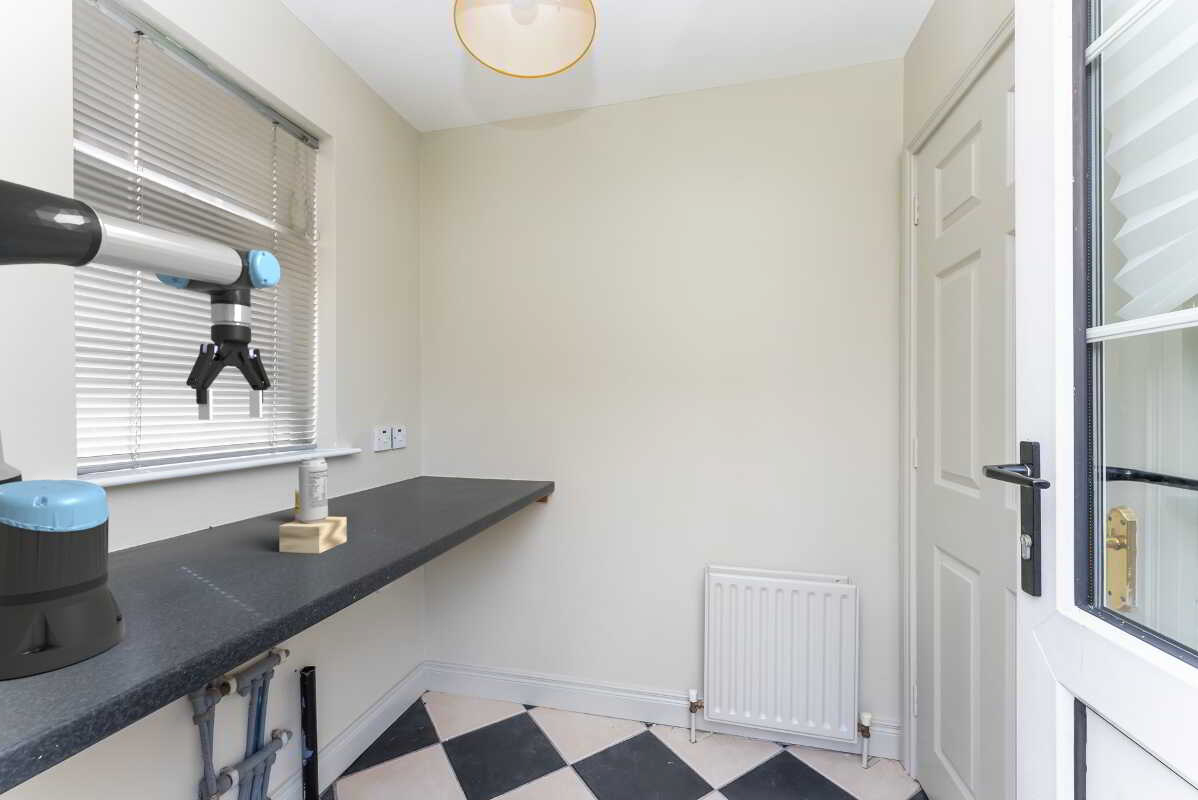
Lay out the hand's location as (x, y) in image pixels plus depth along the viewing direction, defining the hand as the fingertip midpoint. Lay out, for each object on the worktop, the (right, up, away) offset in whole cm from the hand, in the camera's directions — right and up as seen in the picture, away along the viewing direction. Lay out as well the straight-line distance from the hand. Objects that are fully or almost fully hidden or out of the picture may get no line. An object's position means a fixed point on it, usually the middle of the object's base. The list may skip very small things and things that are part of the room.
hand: (232, 418), depth 118 cm
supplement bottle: (0, -31, +30) cm, 43 cm away
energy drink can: (+16, -25, +5) cm, 30 cm away
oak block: (+16, -31, +5) cm, 35 cm away
